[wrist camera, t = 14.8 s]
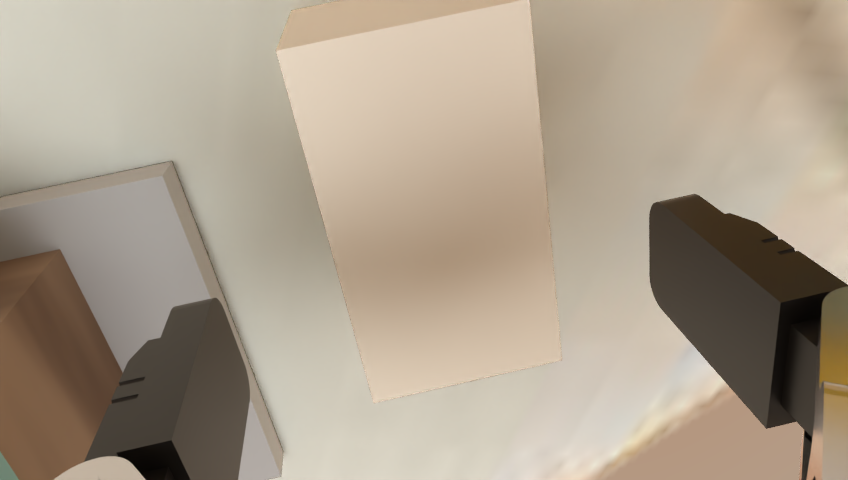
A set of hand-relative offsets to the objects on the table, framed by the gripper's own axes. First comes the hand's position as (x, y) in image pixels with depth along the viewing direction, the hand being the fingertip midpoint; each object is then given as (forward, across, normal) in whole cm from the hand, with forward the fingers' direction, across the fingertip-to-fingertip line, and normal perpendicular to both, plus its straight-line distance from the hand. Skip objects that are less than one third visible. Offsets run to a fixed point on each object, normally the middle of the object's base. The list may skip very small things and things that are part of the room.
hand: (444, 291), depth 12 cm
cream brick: (+9, 0, 0) cm, 9 cm away
